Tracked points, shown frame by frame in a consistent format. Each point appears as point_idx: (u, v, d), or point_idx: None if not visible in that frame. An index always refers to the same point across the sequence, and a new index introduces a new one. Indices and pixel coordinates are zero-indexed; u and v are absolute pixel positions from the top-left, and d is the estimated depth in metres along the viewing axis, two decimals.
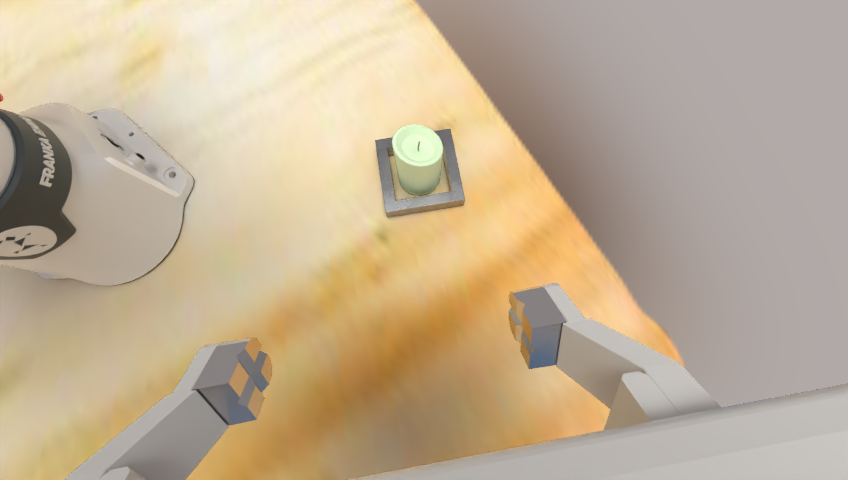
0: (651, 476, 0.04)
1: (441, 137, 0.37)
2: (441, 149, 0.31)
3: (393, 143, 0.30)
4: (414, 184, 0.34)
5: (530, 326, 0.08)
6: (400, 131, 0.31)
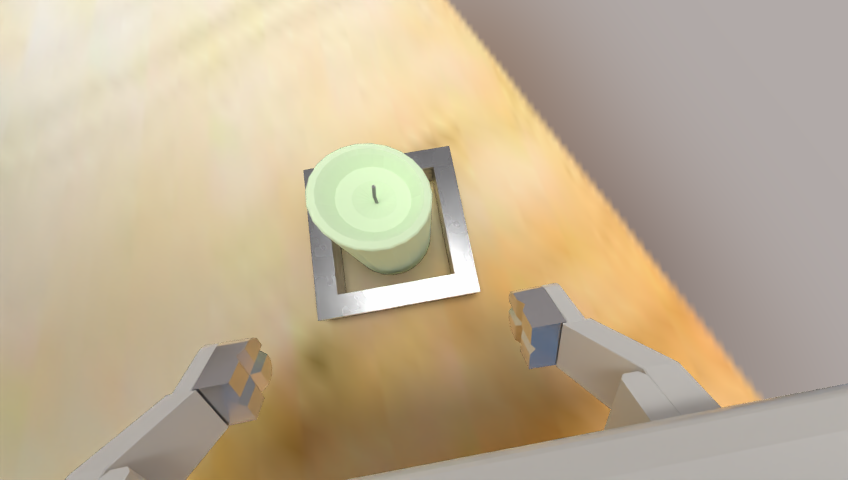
0: (651, 476, 0.04)
1: (431, 163, 0.19)
2: (428, 202, 0.13)
3: (308, 193, 0.12)
4: (374, 266, 0.16)
5: (530, 326, 0.08)
6: (329, 161, 0.13)
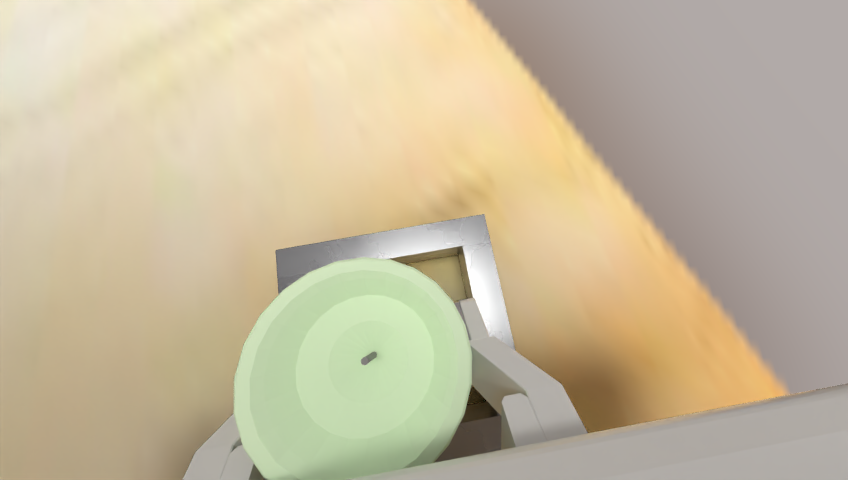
0: (651, 476, 0.04)
1: (460, 240, 0.13)
2: (465, 372, 0.07)
3: (238, 383, 0.06)
4: None
5: None
6: (285, 305, 0.07)
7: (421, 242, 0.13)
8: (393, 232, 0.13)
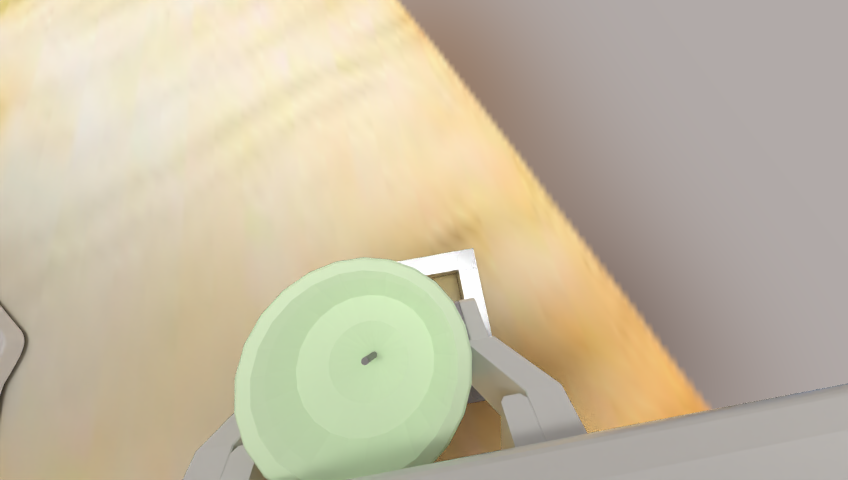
0: (651, 476, 0.04)
1: (457, 265, 0.20)
2: (465, 372, 0.07)
3: (239, 383, 0.06)
4: None
5: None
6: (286, 305, 0.07)
7: (431, 267, 0.20)
8: (413, 260, 0.20)
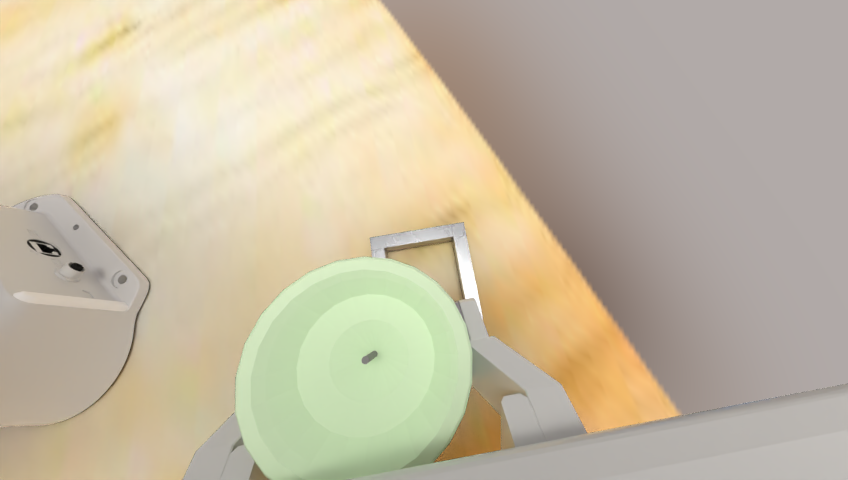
0: (651, 476, 0.04)
1: (452, 233, 0.29)
2: (466, 371, 0.07)
3: (240, 382, 0.06)
4: None
5: None
6: (286, 305, 0.07)
7: (435, 234, 0.29)
8: (422, 230, 0.29)
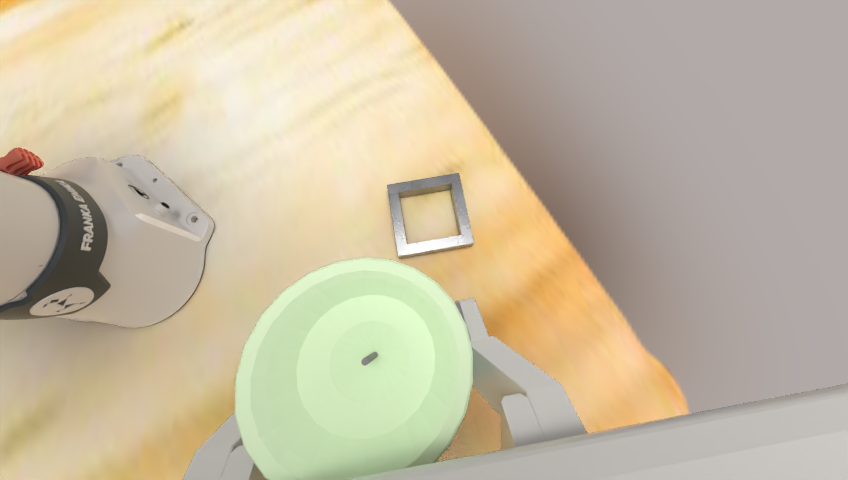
0: (651, 476, 0.04)
1: (450, 181, 0.38)
2: (466, 373, 0.07)
3: (239, 384, 0.06)
4: None
5: None
6: (285, 306, 0.07)
7: (437, 182, 0.38)
8: (427, 179, 0.38)
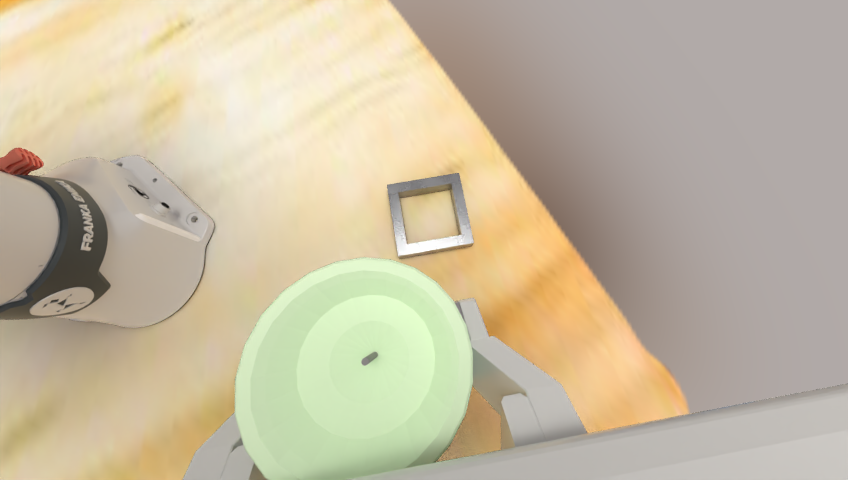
0: (651, 476, 0.04)
1: (450, 181, 0.38)
2: (466, 373, 0.07)
3: (239, 384, 0.06)
4: None
5: None
6: (285, 305, 0.07)
7: (437, 182, 0.38)
8: (427, 178, 0.38)
